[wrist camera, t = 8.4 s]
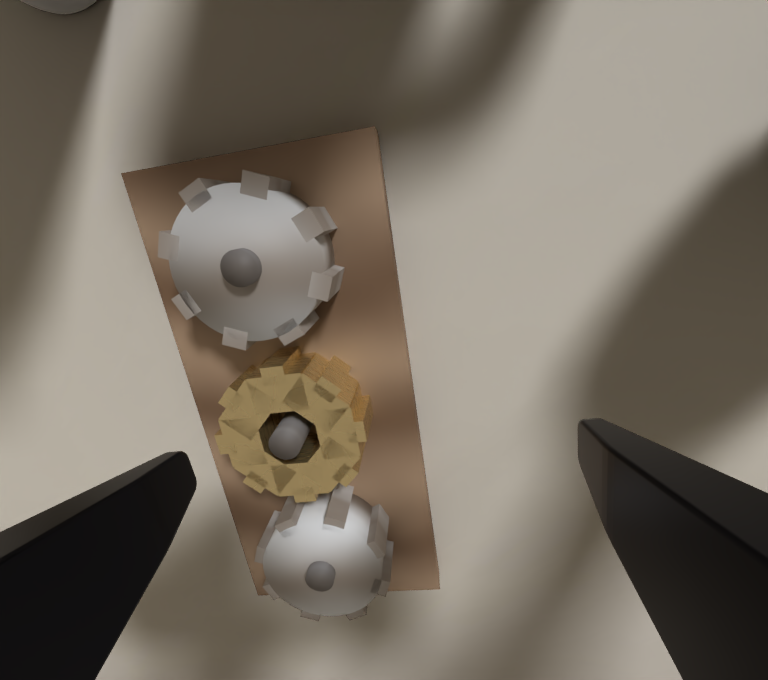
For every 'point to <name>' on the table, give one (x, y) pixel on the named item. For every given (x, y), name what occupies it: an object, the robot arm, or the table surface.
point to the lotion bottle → (60, 5)
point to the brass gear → (312, 401)
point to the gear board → (313, 334)
